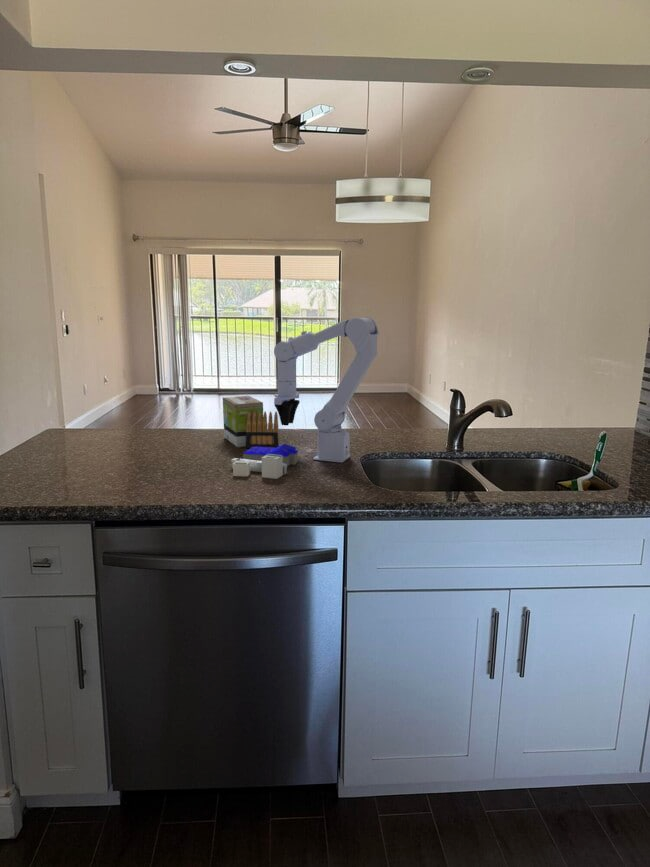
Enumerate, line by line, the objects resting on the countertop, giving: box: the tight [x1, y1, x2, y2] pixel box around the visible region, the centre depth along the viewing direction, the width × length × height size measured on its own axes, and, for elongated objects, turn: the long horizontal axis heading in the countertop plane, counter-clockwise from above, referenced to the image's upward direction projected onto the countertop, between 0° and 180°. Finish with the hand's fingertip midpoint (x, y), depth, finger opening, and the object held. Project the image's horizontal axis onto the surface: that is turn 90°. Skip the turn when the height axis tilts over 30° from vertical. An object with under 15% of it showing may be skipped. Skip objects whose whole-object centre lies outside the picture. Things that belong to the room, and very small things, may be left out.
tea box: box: [222, 395, 264, 448], centre depth 198 cm, size 15×10×15 cm
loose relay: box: [232, 461, 251, 477], centre depth 160 cm, size 4×3×4 cm
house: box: [242, 443, 299, 468], centre depth 174 cm, size 11×15×5 cm
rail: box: [230, 457, 288, 476], centre depth 164 cm, size 16×2×3 cm, turn 70°
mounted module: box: [261, 454, 284, 480], centre depth 159 cm, size 4×4×6 cm
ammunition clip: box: [245, 411, 280, 449], centre depth 190 cm, size 11×2×12 cm, turn 89°
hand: (287, 424), depth 182 cm, fingers open, 3 cm apart
